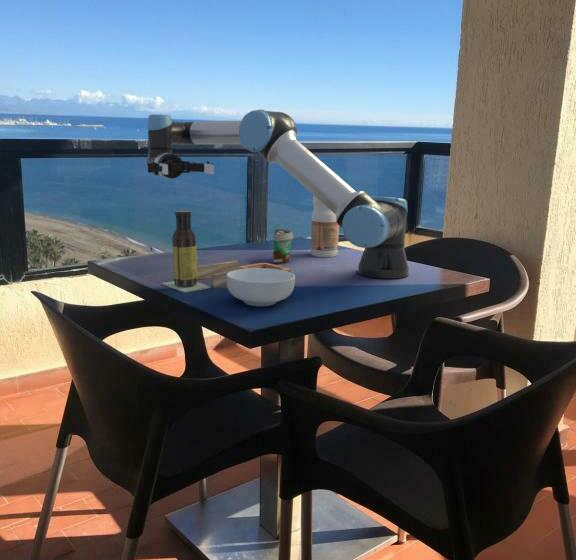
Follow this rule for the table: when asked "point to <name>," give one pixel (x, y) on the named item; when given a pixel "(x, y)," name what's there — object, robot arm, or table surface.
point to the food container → (282, 246)
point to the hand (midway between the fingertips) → (190, 169)
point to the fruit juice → (323, 231)
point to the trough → (217, 272)
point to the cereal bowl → (260, 285)
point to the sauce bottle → (184, 251)
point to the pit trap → (265, 266)
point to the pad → (186, 289)
